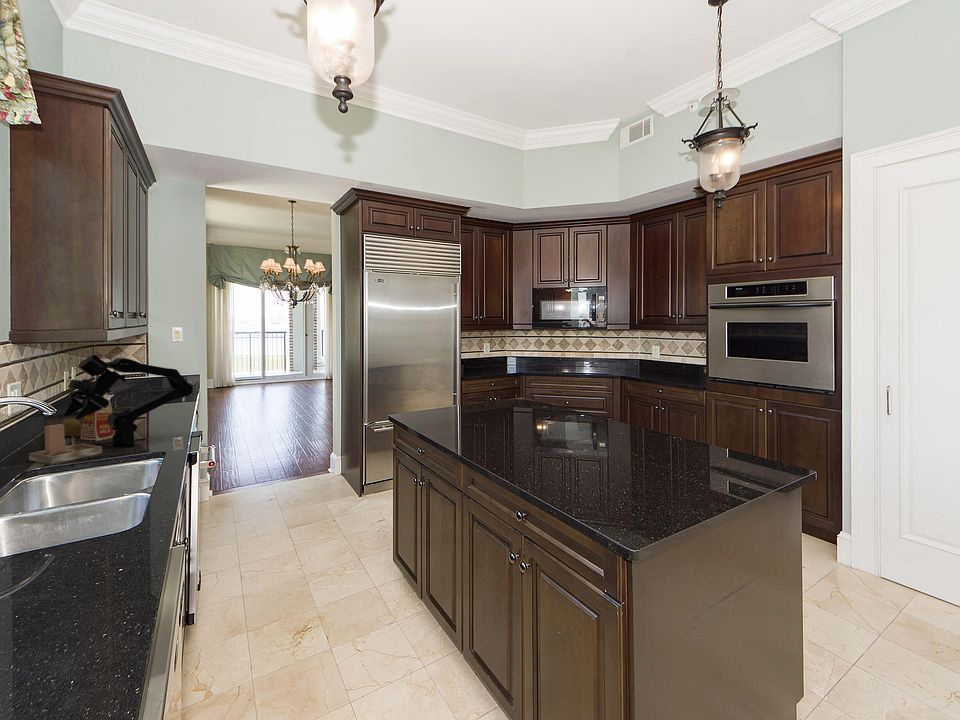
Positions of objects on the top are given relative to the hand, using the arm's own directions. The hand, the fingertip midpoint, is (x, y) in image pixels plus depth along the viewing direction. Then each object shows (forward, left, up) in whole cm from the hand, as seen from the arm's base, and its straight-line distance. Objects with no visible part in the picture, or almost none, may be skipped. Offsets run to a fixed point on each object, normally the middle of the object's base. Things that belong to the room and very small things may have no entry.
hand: (70, 417), depth 173 cm
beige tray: (+1, +4, -14) cm, 15 cm away
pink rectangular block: (+4, +6, -14) cm, 15 cm away
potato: (+5, -38, -14) cm, 41 cm away
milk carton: (-5, -30, -14) cm, 34 cm away
